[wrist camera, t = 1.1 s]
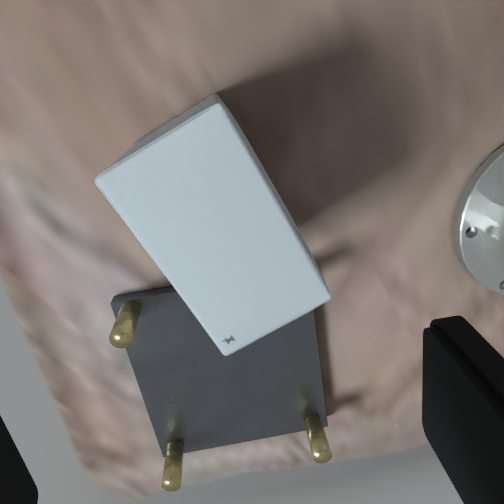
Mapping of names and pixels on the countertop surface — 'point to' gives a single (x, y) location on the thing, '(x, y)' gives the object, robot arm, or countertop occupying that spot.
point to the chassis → (218, 380)
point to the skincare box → (216, 225)
